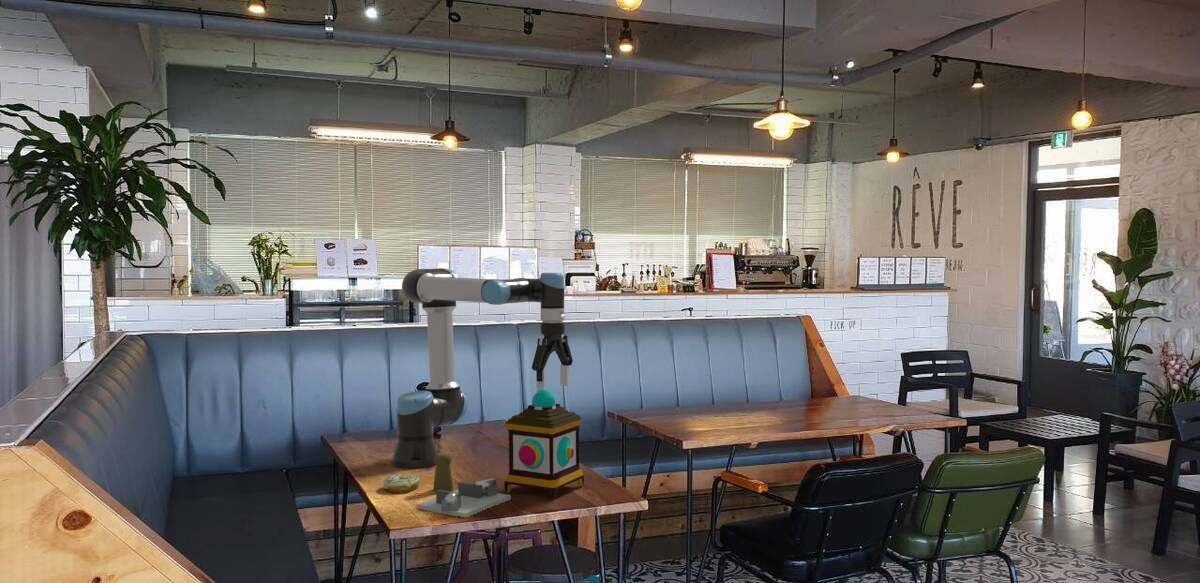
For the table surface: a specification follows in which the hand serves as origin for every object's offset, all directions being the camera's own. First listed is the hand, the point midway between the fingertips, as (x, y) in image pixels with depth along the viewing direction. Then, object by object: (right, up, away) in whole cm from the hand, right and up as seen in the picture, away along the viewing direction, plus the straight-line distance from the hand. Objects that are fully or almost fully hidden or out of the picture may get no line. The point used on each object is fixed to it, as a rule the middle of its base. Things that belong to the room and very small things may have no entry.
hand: (553, 388), depth 279 cm
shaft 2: (-18, -27, -27) cm, 42 cm away
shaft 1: (-25, -28, -41) cm, 55 cm away
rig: (-23, -29, -32) cm, 49 cm away
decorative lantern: (-2, -28, -18) cm, 33 cm away
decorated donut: (-44, -29, -15) cm, 55 cm away
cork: (-32, -28, -17) cm, 46 cm away
